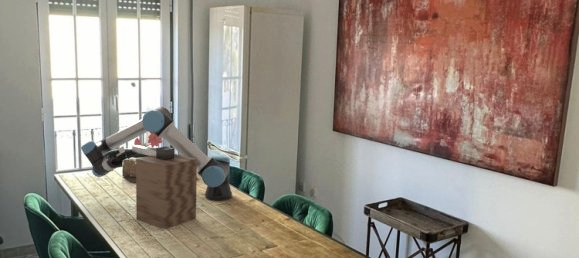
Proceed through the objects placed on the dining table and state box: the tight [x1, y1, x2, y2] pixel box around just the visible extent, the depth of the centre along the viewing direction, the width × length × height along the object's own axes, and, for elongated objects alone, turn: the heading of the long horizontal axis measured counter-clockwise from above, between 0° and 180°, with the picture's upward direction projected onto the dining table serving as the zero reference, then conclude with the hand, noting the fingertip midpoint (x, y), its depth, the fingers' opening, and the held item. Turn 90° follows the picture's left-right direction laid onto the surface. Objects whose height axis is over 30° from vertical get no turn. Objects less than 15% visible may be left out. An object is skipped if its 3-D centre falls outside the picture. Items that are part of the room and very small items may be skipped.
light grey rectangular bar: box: [131, 144, 175, 160], centre depth 243 cm, size 6×26×5 cm, turn 55°
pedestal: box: [135, 153, 198, 230], centre depth 239 cm, size 20×20×30 cm
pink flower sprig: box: [133, 132, 163, 149], centre depth 299 cm, size 15×26×35 cm, turn 147°
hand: (135, 147), depth 249 cm, fingers open, 13 cm apart
